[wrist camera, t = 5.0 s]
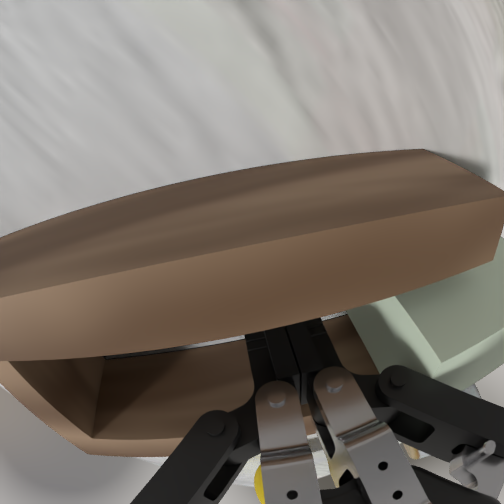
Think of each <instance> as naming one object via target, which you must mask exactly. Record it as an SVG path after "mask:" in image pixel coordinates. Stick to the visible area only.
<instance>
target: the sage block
mask: <svg viewBox="0 0 504 504" xmlns="http://www.w3.org/2000/svg"><path fill="white" fill-rule="evenodd" d="M346 312H347V314H348V316H349V318H350V319H351V321H352V323H353V325H354V327H355V328H356V330H357V332H358V334H359V336H360V338H361V339H362V341H363V343H364V345H365V347H366V349H367V351H368V352H369V354H370V356H371V358H372V360H373V362H374V364H375V366H376V368H377V370H378V372H379V373H380V374H381V372H382V371H383V370H384V369H385V368H387V367H389V366H392V365H402V366H405V367H407V368H410V369H412V370H414V371H416V372H419V373H421V374H423V375H426V376H428V377H430V378H432V379H435V380H437V381H440V382H442V383H444V384H447V385H449V386H451V387H454V388H456V389H459V390H461V391H463V390H464V389H466V388H468V387H469V386H471V385H473V384H474V383H476V382H477V381H479V380H480V379H482V378H483V377H485V376H486V375H488V374H489V373H491V372H492V371H494V370H495V369H496V368H498V367H499V366H501V365H502V364H503V363H504V239H503V238H502V237H501V236H500V240H499V243H498V246H497V250H496V253H495V256H494V259H493V261H490V262H488V263H485V264H483V265H480V266H478V267H475V268H473V269H470V270H468V271H465V272H462V273H460V274H457V275H454V276H452V277H449V278H446V279H444V280H441V281H438V282H435V283H432V284H429V285H427V286H424V287H421V288H418V289H415V290H412V291H409V292H406V293H403V294H399V295H396V296H393V297H390V298H387V299H383V300H380V301H377V302H373V303H370V304H367V305H363V306H360V307H356V308H353V309H349V310H346Z"/></svg>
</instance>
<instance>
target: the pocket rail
mask: <svg viewBox="0 0 504 504" xmlns="http://www.w3.org/2000/svg"><path fill="white" fill-rule="evenodd" d="M503 225H504V191H503V190H501V189H500V188H498V187H496V186H495V185H493V184H491V183H490V182H488V181H486V180H484V179H483V178H481V177H479V176H477V175H475V174H473V173H472V172H470V171H468V170H466V169H464V168H462V167H460V166H458V165H456V164H454V163H452V162H450V161H448V160H446V159H444V158H442V157H440V156H437V155H435V154H433V153H431V152H429V151H426V150H424V149H412V150H395V151H382V152H370V153H359V154H349V155H339V156H331V157H322V158H314V159H307V160H300V161H293V162H286V163H279V164H273V165H267V166H261V167H255V168H249V169H244V170H238V171H233V172H228V173H223V174H218V175H213V176H208V177H203V178H198V179H194V180H189V181H185V182H180V183H176V184H172V185H167V186H163V187H159V188H155V189H151V190H147V191H143V192H139V193H136V194H132V195H128V196H124V197H121V198H117V199H114V200H110V201H107V202H103V203H100V204H96V205H93V206H90V207H86V208H83V209H80V210H77V211H74V212H70V213H67V214H64V215H61V216H58V217H55V218H52V219H49V220H47V221H44V222H41V223H38V224H35V225H32V226H30V227H27V228H24V229H22V230H19V231H16V232H14V233H11V234H9V235H6V236H3V237H1V238H0V383H1V384H2V385H3V386H4V387H5V388H6V389H7V390H8V391H9V392H10V393H11V394H12V395H13V396H14V397H15V398H16V399H17V400H18V401H19V402H21V403H22V404H23V405H24V406H25V407H26V408H27V409H28V410H30V411H31V412H32V413H33V414H34V415H35V416H37V417H38V418H39V419H40V420H42V421H43V422H44V423H45V424H46V425H48V426H49V427H50V428H52V429H53V430H54V431H55V432H57V433H58V434H59V435H61V436H62V437H64V438H65V439H66V440H68V441H69V442H71V443H72V444H74V445H75V446H76V447H78V448H79V449H81V450H82V451H84V452H85V453H87V454H92V455H105V456H123V457H166V456H170V455H171V454H172V452H173V451H174V450H175V449H176V447H177V446H178V445H179V443H180V442H181V441H182V440H183V438H184V437H185V436H186V434H187V433H188V432H189V430H190V429H191V428H192V427H193V425H194V424H195V423H196V421H197V420H198V419H199V418H200V416H202V415H203V414H205V413H206V412H209V411H212V410H223V411H226V412H230V411H232V410H234V409H236V408H238V407H240V406H242V405H244V404H245V403H246V402H247V401H248V400H249V399H250V398H251V396H252V394H253V391H254V381H253V376H252V371H251V366H250V361H249V356H248V351H247V346H246V341H245V339H244V340H239V341H234V342H229V343H223V344H218V345H212V346H206V347H201V348H195V349H188V350H182V351H175V352H168V353H161V354H154V355H146V356H138V357H129V358H120V359H110V360H105V359H104V357H103V356H107V355H116V354H125V353H134V352H142V351H150V350H157V349H164V348H171V347H178V346H184V345H190V344H196V343H202V342H208V341H214V340H219V339H224V338H230V337H235V336H240V335H245V334H250V333H255V332H259V331H264V330H269V329H273V328H278V327H282V326H286V325H291V324H295V323H299V322H303V321H307V320H311V319H315V318H319V317H323V316H327V315H331V314H335V313H338V312H342V311H346V310H349V309H353V308H356V307H360V306H363V305H367V304H370V303H373V302H377V301H380V300H383V299H387V298H390V297H393V296H396V295H399V294H403V293H406V292H409V291H412V290H415V289H418V288H421V287H424V286H427V285H429V284H432V283H435V282H438V281H441V280H444V279H446V278H449V277H452V276H454V275H457V274H460V273H462V272H465V271H468V270H470V269H473V268H475V267H478V266H480V265H483V264H485V263H488V262H490V261H493V259H494V256H495V253H496V250H497V246H498V243H499V240H500V236H501V233H502V229H503ZM322 322H323V325H324V326H325V329H326V331H327V334H328V335H329V337H330V339H331V342H332V344H333V346H334V348H335V350H336V353H337V355H338V357H339V359H340V361H341V363H342V365H343V366H344V367H345V368H346V369H347V370H348V371H350V372H352V373H355V374H359V375H376V374H380V373H379V372H378V370H377V368H376V366H375V364H374V362H373V360H372V358H371V356H370V354H369V352H368V351H367V349H366V347H365V345H364V343H363V341H362V339H361V338H360V336H359V334H358V332H357V330H356V328H355V327H354V325H353V323H352V321H351V319H350V318H349V316H348V315H344V316H341V317H337V318H333V319H330V320H326V321H322ZM300 406H301V411H302V416H303V421H304V425H305V430H306V435H311V434H314V433H316V431H315V429H314V427H313V424H312V422H311V411H310V408H309V405H308V403H307V404H303V405H301V403H300Z"/></svg>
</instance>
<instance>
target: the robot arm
mask: <svg viewBox="0 0 504 504" xmlns="http://www.w3.org/2000/svg"><path fill="white" fill-rule="evenodd" d="M244 336H245V341H246V346H247V351H248V356H249V361H250V366H251V371H252V376H253V381H254V391H253V394H252V396H251V398H250V399H249V400H248V401H247V402H246V403H245V404H244V405H242V406H240V407H238V408H236V409H234V410H232V411H230V412H226V411H223V410H212V411H209V412H206V413H205V414H203V415H202V416H200V418H199V419H198V420H197V421H196V423H195V424H194V425H193V427H192V428H191V429H190V430H189V432H188V433H187V434H186V436H185V437H184V438H183V440H182V441H181V442H180V443H179V445H178V446H177V447H176V449H175V450H174V451H173V452H172V454H171V455H170V456H169V457H168V459H167V460H166V461H165V462H164V464H163V465H162V466H161V467H160V469H159V470H158V471H157V472H156V474H155V475H154V476H153V477H152V478H151V480H150V481H149V482H148V483H147V484H146V486H145V487H144V488H143V489H142V490H141V492H140V493H139V494H138V495H137V496H136V497H135V499H134V500H133V501H132V502H131V503H130V504H218V503H219V502H220V500H221V499H222V498H223V496H224V495H225V493H226V492H227V490H228V489H229V487H230V486H231V485H232V483H233V482H234V480H235V479H236V477H237V476H238V474H239V473H240V472H241V470H242V468H243V467H244V465H245V464H246V462H247V461H248V459H250V458H252V457H254V456H256V455H258V454H260V453H261V457H260V462H261V472H262V481H263V490H264V498H265V504H501V503H500V502H499V501H498V500H497V498H498V496H499V493H500V491H501V489H502V486H503V483H504V408H503V407H501V406H498V405H496V404H493V403H490V402H488V401H485V400H483V399H481V398H478V397H476V396H473V395H471V394H468V393H466V392H463V391H461V390H459V389H456V388H454V387H451V386H449V385H447V384H444V383H442V382H440V381H437V380H435V379H432V378H430V377H428V376H426V375H423V374H421V373H419V372H416V371H414V370H412V369H410V368H407V367H405V366H402V365H392V366H389V367H387V368H385V369H384V370H383V371H382V372H381V374H376V375H359V374H355V373H352V372H350V371H348V370H347V369H346V368H345V367H344V366H343V365H342V363H341V361H340V359H339V357H338V355H337V353H336V350H335V348H334V346H333V344H332V342H331V339H330V337H329V335H328V334H327V331H326V329H325V326H324V325H323V322H322V320H321V318H320V317H319V318H315V319H311V320H307V321H303V322H299V323H295V324H291V325H286V326H282V327H278V328H273V329H269V330H264V331H259V332H255V333H250V334H245V335H244ZM300 403H301V405H303V404H307V403H308V405H309V408H310V411H311V422H312V424H313V427H314V429H315V431H316V434H317V436H318V439H319V441H320V443H321V446H322V448H323V450H324V453H325V455H326V458H327V460H328V464H329V470H330V473H331V476H332V479H333V481H334V483H335V486H336V489H327V490H319V484H318V479H317V474H316V469H315V465H314V460H313V455H312V452H311V449H310V448H309V445H308V440H307V435H306V430H305V425H304V421H303V416H302V411H301V406H300ZM397 440H398V441H400V442H402V443H404V444H406V445H408V446H411V447H413V448H415V449H417V450H420V451H422V452H424V453H427V454H429V455H431V456H434V457H436V458H439V459H441V460H444V461H446V462H449V463H450V465H449V469H450V470H449V472H450V475H451V476H453V477H454V478H455V479H456V480H458V481H459V482H461V484H462V485H459V484H457V483H454V482H452V481H450V480H447V479H445V478H443V477H441V476H438V475H436V474H434V473H432V472H429V471H427V470H425V469H423V468H420V467H417V466H413V465H410V463H409V461H408V459H407V458H406V456H405V454H404V452H403V450H402V448H401V446H400V445H399V443H398V441H397Z"/></svg>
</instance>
